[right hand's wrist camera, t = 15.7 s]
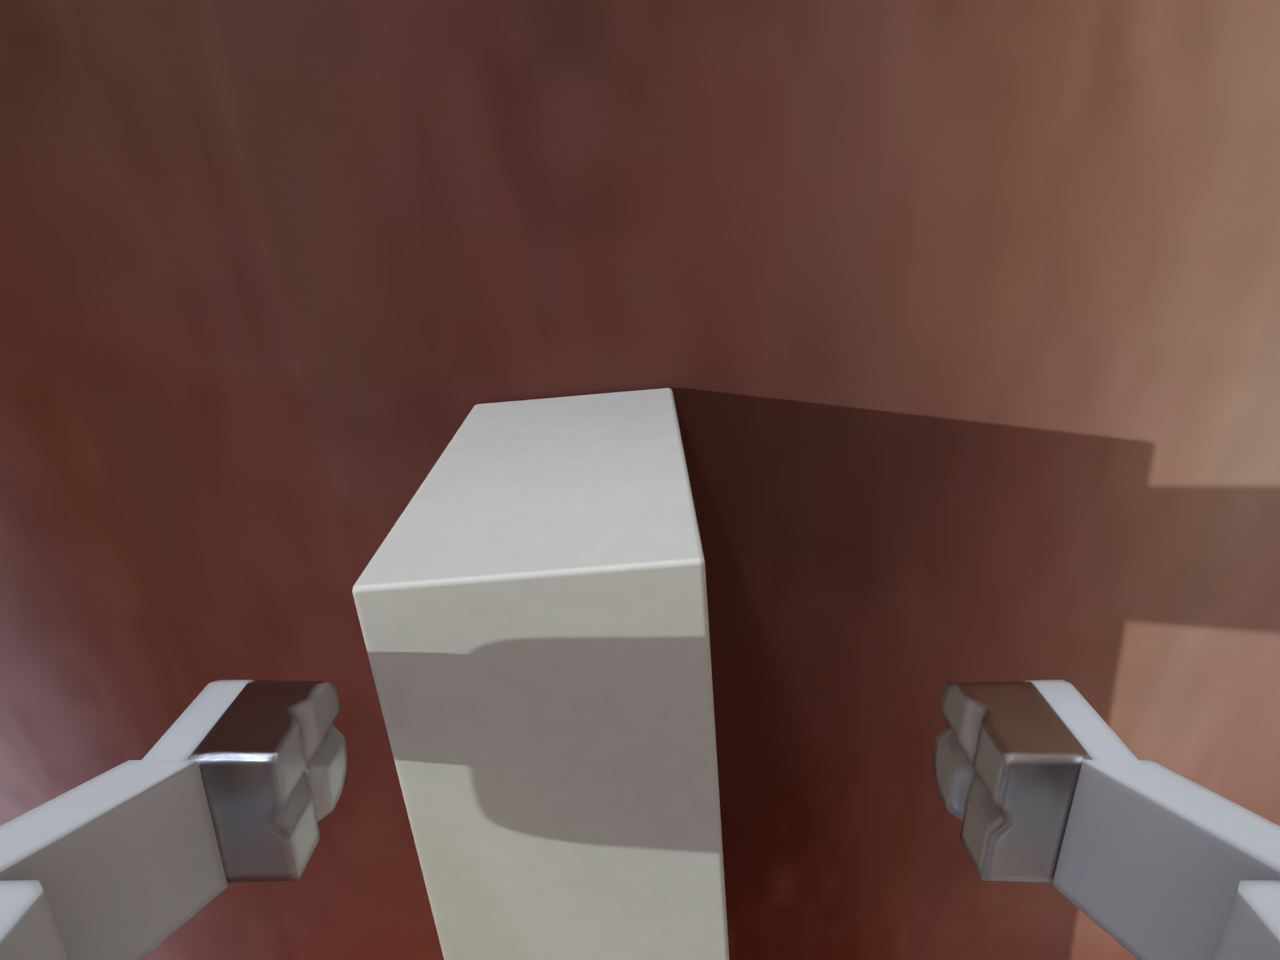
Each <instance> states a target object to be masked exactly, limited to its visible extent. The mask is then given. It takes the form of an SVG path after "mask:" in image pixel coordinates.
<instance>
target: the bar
mask: <svg viewBox="0 0 1280 960" xmlns="http://www.w3.org/2000/svg"><path fill="white" fill-rule="evenodd" d="M352 592H353V596H354V600H355V604H356V608H357V612H358V616H359V620H360V624H361V628H362V632H363V636H364V640H365V644H366V648H367V652H368V656H369V660H370V664H371V668H372V672H373V676H374V680H375V684H376V688H377V692H378V696H379V700H380V704H381V708H382V712H383V716H384V720H385V724H386V728H387V732H388V736H389V740H390V744H391V748H392V752H393V756H394V760H395V764H396V768H397V772H398V776H399V780H400V784H401V788H402V792H403V796H404V800H405V804H406V808H407V812H408V816H409V820H410V824H411V828H412V832H413V836H414V840H415V844H416V848H417V852H418V856H419V860H420V864H421V868H422V872H423V876H424V880H425V884H426V888H427V892H428V896H429V900H430V904H431V908H432V912H433V916H434V920H435V924H436V928H437V932H438V936H439V940H440V944H441V948H442V952H443V956H444V960H729V946H728V930H727V913H726V897H725V881H724V865H723V848H722V832H721V816H720V799H719V783H718V767H717V751H716V734H715V718H714V702H713V685H712V669H711V653H710V637H709V620H708V604H707V588H706V572H705V560H704V555H703V550H702V544H701V539H700V534H699V528H698V523H697V518H696V513H695V507H694V502H693V497H692V491H691V486H690V481H689V476H688V470H687V465H686V460H685V454H684V449H683V444H682V439H681V433H680V428H679V423H678V417H677V412H676V407H675V402H674V396H673V391H672V389H670V388H663V389H651V390H640V391H628V392H616V393H605V394H593V395H581V396H570V397H558V398H546V399H534V400H523V401H511V402H499V403H488V404H477V405H475V406H474V407H473V409H472V410H471V412H470V413H469V415H468V416H467V418H466V419H465V421H464V422H463V424H462V425H461V427H460V428H459V430H458V431H457V433H456V434H455V436H454V437H453V439H452V440H451V442H450V443H449V445H448V446H447V448H446V449H445V451H444V452H443V454H442V455H441V457H440V458H439V460H438V461H437V462H436V464H435V465H434V467H433V468H432V470H431V471H430V473H429V474H428V476H427V477H426V479H425V480H424V482H423V483H422V485H421V486H420V488H419V489H418V491H417V492H416V494H415V495H414V497H413V498H412V500H411V501H410V503H409V504H408V506H407V507H406V509H405V510H404V512H403V513H402V515H401V516H400V518H399V519H398V521H397V522H396V524H395V525H394V527H393V528H392V530H391V531H390V533H389V534H388V536H387V537H386V538H385V540H384V541H383V543H382V544H381V546H380V547H379V549H378V550H377V552H376V553H375V555H374V556H373V558H372V559H371V561H370V562H369V564H368V565H367V567H366V568H365V570H364V571H363V573H362V574H361V576H360V577H359V579H358V580H357V582H356V583H355V585H354V586H353V590H352Z"/></svg>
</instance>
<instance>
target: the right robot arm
mask: <svg viewBox="0 0 1280 960" xmlns="http://www.w3.org/2000/svg"><path fill="white" fill-rule="evenodd" d="M339 709H340V707H339V702H338V697H337V693H336V688H335V687H334V686H333V685H332V684H331V683H330V682H323V681H276V680H256V681H253V680H218V681H215V682H212V683H209V684H208V685H207V686H206V687H205V688H204V689H203V691H202V692H201V693H200V694H199V695H198V696H197V697H196V699H195V700H194V701H193V702H192V703H191V704H190V705H189V707H188V708H187V709H186V710H185V711H184V712H183V713H182V715H181V716H180V717H179V718H178V719H177V720H176V721H175V722H174V724H173V725H172V726H171V727H170V728H169V729H168V730H167V732H166V733H165V734H164V735H163V736H162V737H161V738H160V740H159V741H158V742H157V743H156V744H155V745H154V746H153V748H152V749H151V750H150V751H149V752H148V753H147V754H146V756H145V757H144V758H143V759H142V760H129V761H127V762H125V763H123V764H121V765H119V766H117V767H115V768H113V769H111V770H109V771H107V772H105V773H103V774H101V775H99V776H97V777H95V778H93V779H91V780H89V781H87V782H86V783H84V784H82V785H80V786H78V787H76V788H74V789H72V790H70V791H68V792H66V793H64V794H62V795H60V796H58V797H56V798H54V799H52V800H50V801H48V802H46V803H44V804H42V805H40V806H38V807H36V808H34V809H32V810H30V811H29V812H27V813H25V814H23V815H21V816H19V817H17V818H15V819H13V820H11V821H9V822H7V823H5V824H3V825H1V826H0V960H142V959H143V958H144V957H145V956H146V955H148V954H149V953H150V952H151V951H152V950H154V949H155V948H156V947H157V946H158V945H159V944H161V943H162V942H163V941H164V940H165V939H166V938H168V937H169V936H170V935H171V934H172V933H174V932H175V931H176V930H177V929H178V928H179V927H181V926H182V925H183V924H184V923H185V922H187V921H188V920H189V919H190V918H191V917H192V916H194V915H195V914H196V913H197V912H198V911H199V910H201V909H202V908H203V907H204V906H205V905H207V904H208V903H209V902H210V901H211V900H212V899H214V898H215V897H216V896H217V895H218V894H220V893H221V892H222V891H223V890H224V889H225V888H227V887H228V883H229V882H263V881H297V880H299V878H300V876H301V874H302V872H303V870H304V868H305V866H306V864H307V862H308V860H309V858H310V856H311V854H312V852H313V850H314V848H315V846H316V844H317V842H318V840H319V838H320V835H319V829H318V823H317V822H318V821H319V820H321V819H322V818H323V817H325V816H326V815H327V814H329V813H330V812H332V811H333V810H334V808H335V806H336V803H337V801H338V799H339V797H340V795H341V792H342V788H343V783H344V779H345V774H346V758H347V752H346V745H345V738H344V736H343V735H342V734H341V733H340V732H339V731H338V730H337V729H336V728H335V727H334V726H333V725H332V722H333V720H334V718H335V716H336V715H337V713H338V711H339ZM940 709H941V711H942V713H943V715H944V716H945V718H946V720H947V722H948V723H949V724H948V725H947V726H946V727H945V728H944V729H943V730H942V731H941V732H940V733H939V734H938V735H937V736H936V739H935V747H934V755H933V762H934V773H935V781H936V784H937V788H938V791H939V795H940V797H941V799H942V801H943V803H944V806H945V808H946V810H947V811H948V812H950V813H951V814H953V815H954V816H955V817H957V818H958V819H960V820H961V821H962V822H963V824H962V829H961V835H960V838H961V840H962V842H963V844H964V846H965V848H966V850H967V852H968V854H969V856H970V858H971V860H972V862H973V864H974V866H975V868H976V870H977V872H978V874H979V876H980V878H981V880H982V881H1016V882H1051V883H1052V886H1053V887H1054V888H1055V889H1056V890H1057V891H1059V892H1060V893H1061V894H1062V895H1063V896H1064V897H1066V898H1067V899H1068V900H1069V901H1070V902H1071V903H1073V904H1074V905H1075V906H1076V907H1077V908H1079V909H1080V910H1081V911H1082V912H1083V913H1084V914H1086V915H1087V916H1088V917H1089V918H1090V919H1091V920H1093V921H1094V922H1095V923H1096V924H1097V925H1099V926H1100V927H1101V928H1102V929H1103V930H1104V931H1106V932H1107V933H1108V934H1109V935H1110V936H1111V937H1113V938H1114V939H1115V940H1116V941H1117V942H1119V943H1120V944H1121V945H1122V946H1123V947H1124V948H1126V949H1127V950H1128V951H1129V952H1130V953H1131V954H1133V955H1134V956H1135V957H1136V958H1137V959H1138V960H1280V826H1279V825H1277V824H1275V823H1273V822H1271V821H1269V820H1267V819H1265V818H1263V817H1261V816H1259V815H1257V814H1255V813H1253V812H1251V811H1249V810H1247V809H1245V808H1243V807H1241V806H1239V805H1238V804H1236V803H1234V802H1232V801H1230V800H1228V799H1226V798H1224V797H1222V796H1220V795H1218V794H1216V793H1214V792H1212V791H1210V790H1208V789H1206V788H1204V787H1202V786H1200V785H1198V784H1196V783H1194V782H1192V781H1191V780H1189V779H1187V778H1185V777H1183V776H1181V775H1179V774H1177V773H1175V772H1173V771H1171V770H1169V769H1167V768H1165V767H1163V766H1161V765H1159V764H1157V763H1155V762H1153V761H1151V760H1138V759H1137V758H1136V757H1135V756H1134V754H1133V753H1132V752H1131V751H1130V750H1129V749H1128V748H1127V746H1126V745H1125V744H1124V743H1123V742H1122V741H1121V740H1120V738H1119V737H1118V736H1117V735H1116V734H1115V733H1114V732H1113V730H1112V729H1111V728H1110V727H1109V726H1108V725H1107V724H1106V722H1105V721H1104V720H1103V719H1102V718H1101V717H1100V716H1099V715H1098V713H1097V712H1096V711H1095V710H1094V709H1093V708H1092V707H1091V705H1090V704H1089V703H1088V702H1087V701H1086V700H1085V699H1084V697H1083V696H1082V695H1081V694H1080V693H1079V692H1078V691H1077V689H1076V688H1075V687H1074V686H1073V685H1072V684H1071V683H1069V682H1067V681H1064V680H1062V679H1060V680H1029V681H1024V682H954V683H948V684H947V686H946V688H945V690H944V692H943V696H942V702H941V707H940Z"/></svg>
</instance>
